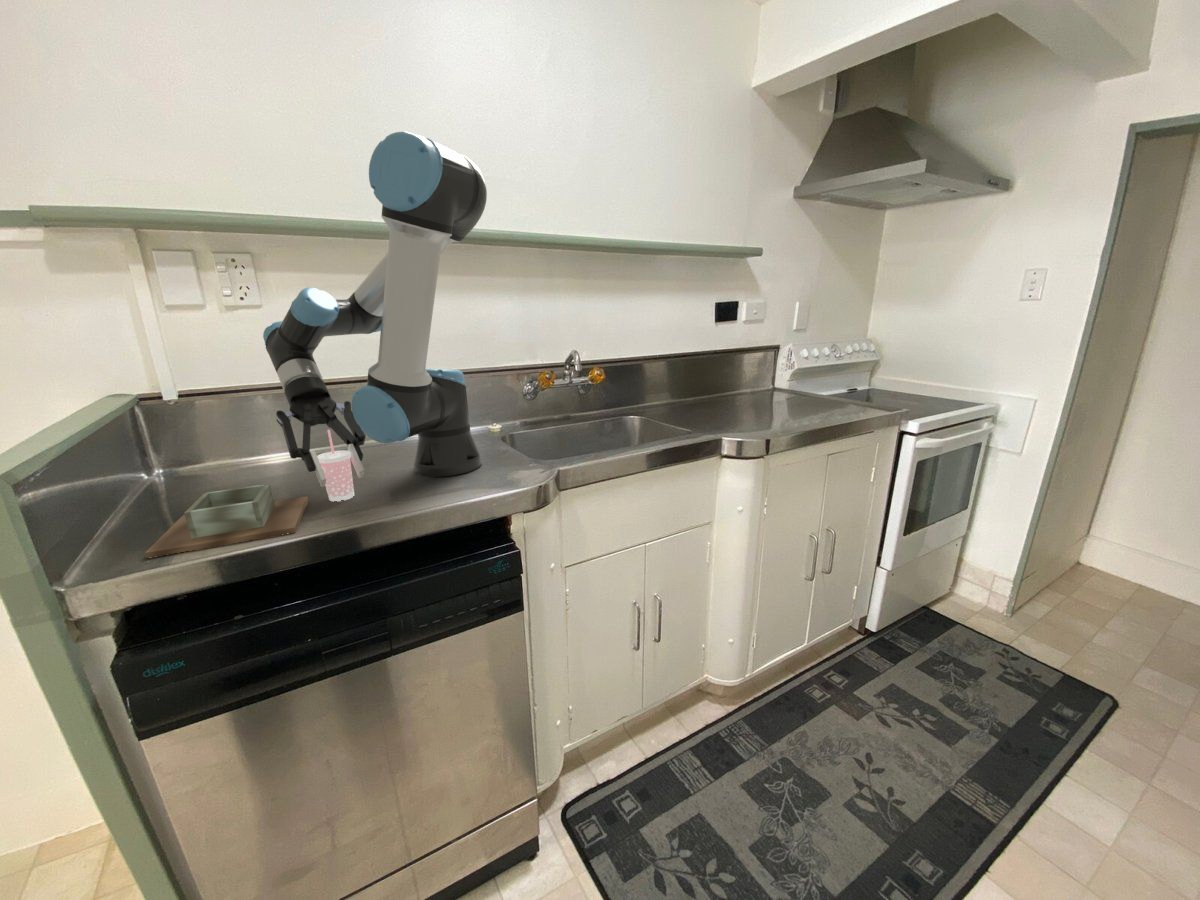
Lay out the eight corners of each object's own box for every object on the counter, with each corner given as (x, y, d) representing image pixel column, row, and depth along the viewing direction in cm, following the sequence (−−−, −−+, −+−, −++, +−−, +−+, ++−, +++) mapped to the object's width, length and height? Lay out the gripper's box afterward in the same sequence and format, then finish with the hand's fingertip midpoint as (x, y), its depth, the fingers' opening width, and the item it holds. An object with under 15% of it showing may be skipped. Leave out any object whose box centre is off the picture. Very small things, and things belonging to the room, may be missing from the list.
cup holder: (308, 500, 96) (302, 474, 95) (295, 532, 82) (288, 502, 81) (184, 520, 89) (176, 492, 88) (146, 559, 75) (135, 526, 73)
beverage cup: (327, 494, 100) (313, 428, 96) (359, 489, 102) (347, 424, 98) (322, 505, 94) (307, 435, 90) (357, 499, 96) (344, 431, 92)
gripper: (351, 391, 110) (389, 476, 103) (250, 404, 97) (286, 501, 90) (354, 369, 104) (395, 456, 97) (248, 380, 92) (286, 481, 85)
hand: (342, 478), depth 94 cm, fingers closed on beverage cup, 6 cm apart
